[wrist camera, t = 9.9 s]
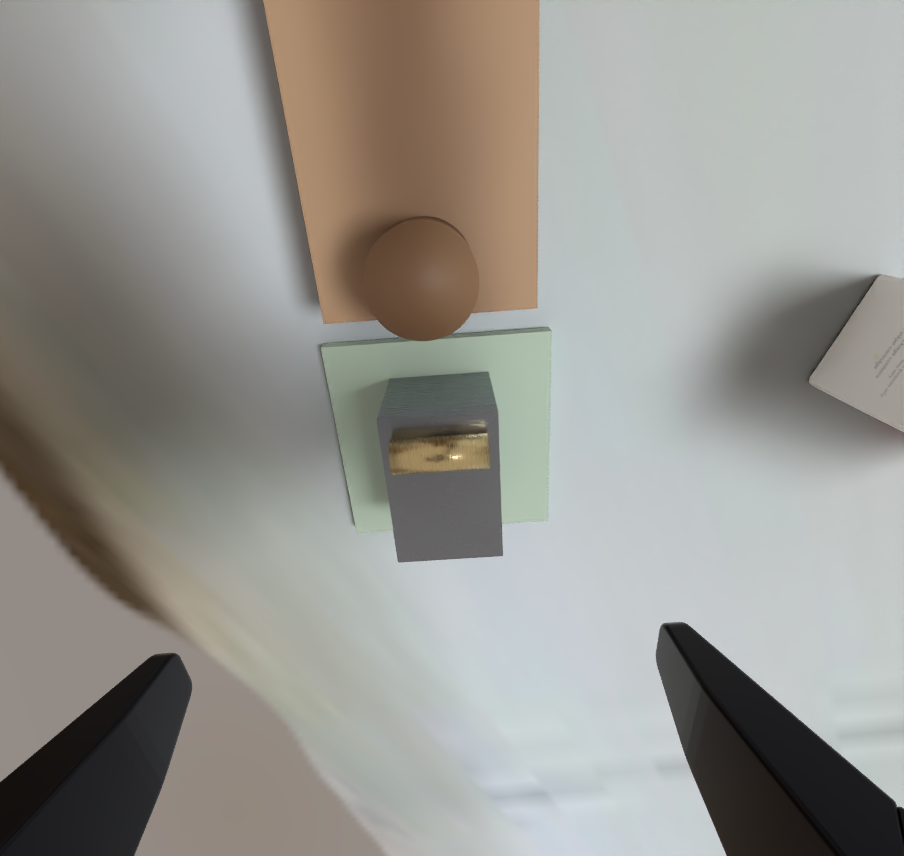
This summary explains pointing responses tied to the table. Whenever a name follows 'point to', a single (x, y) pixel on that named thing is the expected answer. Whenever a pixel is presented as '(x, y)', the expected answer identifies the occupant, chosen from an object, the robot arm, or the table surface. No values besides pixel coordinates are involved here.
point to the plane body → (414, 155)
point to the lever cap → (442, 466)
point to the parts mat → (498, 352)
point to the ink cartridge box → (870, 355)
